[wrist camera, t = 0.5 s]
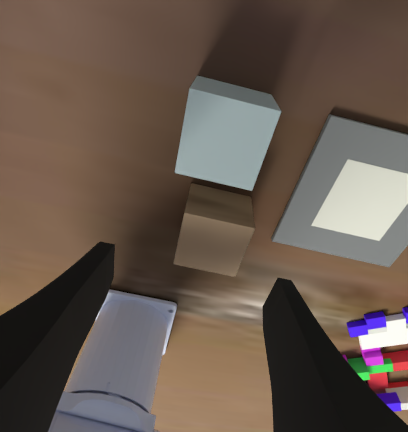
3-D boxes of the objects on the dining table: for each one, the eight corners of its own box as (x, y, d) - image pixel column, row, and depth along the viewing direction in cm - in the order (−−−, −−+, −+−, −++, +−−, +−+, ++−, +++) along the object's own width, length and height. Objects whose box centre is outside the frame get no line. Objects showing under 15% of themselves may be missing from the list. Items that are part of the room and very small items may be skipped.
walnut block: (234, 241, 23) (235, 277, 20) (180, 229, 23) (173, 263, 20) (250, 195, 21) (255, 228, 18) (191, 182, 21) (184, 212, 17)
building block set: (540, 277, 24) (598, 324, 20) (505, 390, 34) (538, 435, 30) (254, 328, 31) (257, 370, 27) (296, 410, 41) (303, 448, 37)
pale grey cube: (248, 162, 19) (252, 191, 16) (184, 146, 19) (174, 172, 16) (271, 94, 17) (281, 111, 13) (197, 75, 16) (189, 88, 13)
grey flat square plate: (386, 263, 23) (389, 267, 23) (271, 238, 23) (271, 241, 22) (479, 152, 18) (484, 154, 17) (329, 114, 17) (331, 116, 17)
